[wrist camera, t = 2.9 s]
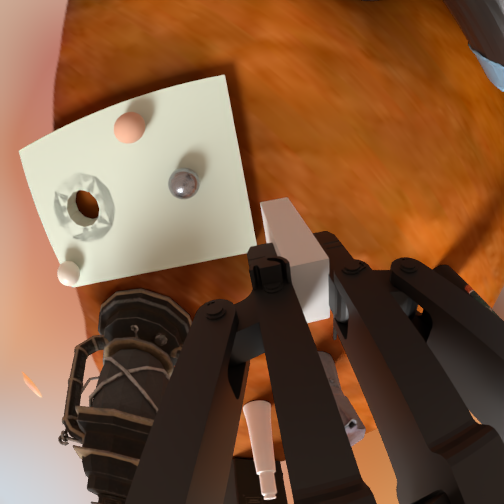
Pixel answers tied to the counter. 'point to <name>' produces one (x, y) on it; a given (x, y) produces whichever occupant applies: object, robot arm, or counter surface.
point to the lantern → (123, 387)
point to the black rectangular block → (251, 484)
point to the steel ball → (183, 183)
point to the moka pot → (343, 402)
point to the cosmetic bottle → (262, 444)
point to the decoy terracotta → (129, 127)
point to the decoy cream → (68, 273)
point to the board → (144, 185)
